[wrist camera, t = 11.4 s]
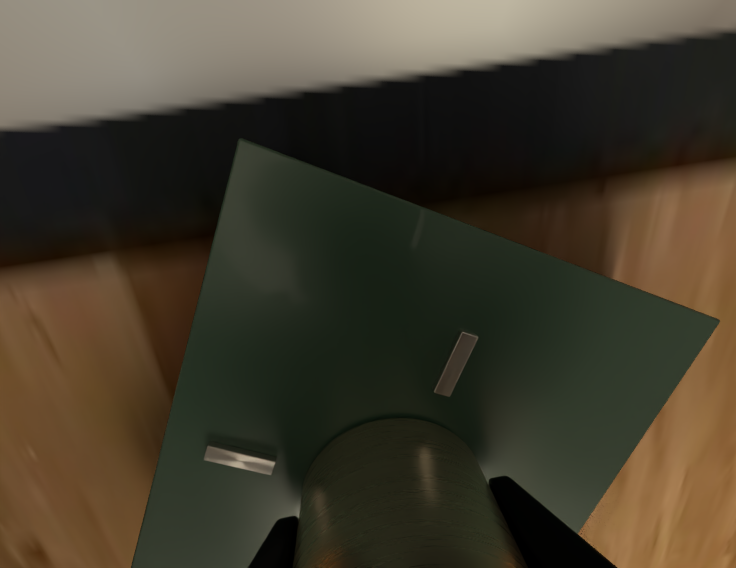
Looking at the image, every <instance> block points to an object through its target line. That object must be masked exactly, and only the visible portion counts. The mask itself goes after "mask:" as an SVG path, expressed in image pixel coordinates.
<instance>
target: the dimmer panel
mask: <svg viewBox="0 0 736 568" xmlns="http://www.w3.org/2000/svg"><path fill="white" fill-rule="evenodd" d="M719 322H720V321H719V320H718V319H717V318H714V317H711V316H709V315H706V314H703V313H701V312H698V311H695V310H693V309H690V308H688V307H685V306H682V305H680V304H677V303H674V302H672V301H669V300H667V299H664V298H661V297H659V296H656V295H653V294H651V293H648V292H645V291H643V290H640V289H638V288H635V287H632V286H630V285H627V284H624V283H622V282H619V281H617V280H614V279H611V278H609V277H606V276H603V275H601V274H598V273H595V272H593V271H590V270H588V269H585V268H582V267H580V266H577V265H574V264H572V263H569V262H567V261H564V260H561V259H559V258H556V257H553V256H551V255H548V254H545V253H543V252H540V251H538V250H535V249H532V248H530V247H527V246H524V245H522V244H519V243H516V242H514V241H511V240H509V239H506V238H503V237H501V236H498V235H495V234H493V233H490V232H488V231H485V230H482V229H480V228H477V227H474V226H472V225H469V224H466V223H464V222H461V221H459V220H456V219H453V218H451V217H448V216H445V215H443V214H440V213H438V212H435V211H432V210H430V209H427V208H424V207H422V206H419V205H416V204H414V203H411V202H409V201H406V200H403V199H401V198H398V197H395V196H393V195H390V194H388V193H385V192H382V191H380V190H377V189H374V188H372V187H369V186H366V185H364V184H361V183H359V182H356V181H353V180H351V179H348V178H345V177H343V176H340V175H337V174H335V173H332V172H330V171H327V170H324V169H322V168H319V167H316V166H314V165H311V164H309V163H306V162H303V161H301V160H298V159H295V158H293V157H290V156H287V155H285V154H282V153H280V152H277V151H274V150H272V149H269V148H266V147H264V146H261V145H259V144H256V143H253V142H251V141H248V140H245V139H243V138H240V139H239V140H238V143H237V147H236V151H235V155H234V159H233V163H232V167H231V171H230V175H229V179H228V183H227V187H226V191H225V195H224V199H223V203H222V207H221V211H220V215H219V219H218V223H217V227H216V231H215V235H214V239H213V243H212V247H211V251H210V255H209V259H208V263H207V267H206V271H205V275H204V278H203V282H202V286H201V290H200V294H199V298H198V302H197V306H196V310H195V314H194V318H193V322H192V326H191V330H190V334H189V338H188V342H187V346H186V350H185V354H184V358H183V362H182V366H181V370H180V374H179V378H178V382H177V386H176V390H175V394H174V398H173V402H172V406H171V410H170V414H169V418H168V422H167V426H166V430H165V434H164V438H163V442H162V446H161V450H160V454H159V458H158V462H157V466H156V470H155V474H154V478H153V482H152V486H151V490H150V494H149V498H148V502H147V506H146V510H145V514H144V518H143V522H142V526H141V530H140V534H139V538H138V542H137V546H136V550H135V554H134V558H133V562H132V566H131V568H248V567H249V565H250V563H251V562H252V560H253V558H254V557H255V555H256V553H257V552H258V550H259V549H260V547H261V545H262V544H263V542H264V540H265V539H266V537H267V535H268V534H269V532H270V530H271V529H272V527H273V525H274V524H275V522H276V521H277V520H278V519H280V518H284V517H289V516H297V517H298V519H299V513H300V505H301V497H302V489H303V483H304V480H305V476H306V474H307V472H308V470H309V468H310V466H311V464H312V463H313V461H314V460H315V458H316V457H317V455H318V454H319V453H320V452H321V451H322V450H323V448H324V447H325V446H327V445H328V444H329V443H330V442H331V441H332V440H334V439H335V438H337V437H338V436H339V435H341V434H342V433H344V432H346V431H348V430H350V429H352V428H354V427H356V426H359V425H362V424H364V423H368V422H371V421H375V420H380V419H387V418H413V419H419V420H424V421H428V422H431V423H434V424H437V425H439V426H441V427H443V428H445V429H447V430H449V431H450V432H452V433H453V434H455V435H456V436H458V437H459V438H460V439H461V440H462V441H463V442H464V443H465V444H466V445H467V446H468V447H469V448H470V450H471V451H472V453H473V454H474V456H475V458H476V460H477V462H478V464H479V466H480V468H481V470H482V472H483V474H484V476H485V478H486V480H487V483H488V482H489V479H490V478H494V477H499V476H508V477H510V478H511V479H513V480H514V481H515V482H516V483H517V484H519V485H520V486H521V487H522V488H523V489H524V490H526V491H527V492H528V493H529V494H530V495H532V496H533V497H534V498H535V499H536V500H538V501H539V502H540V503H541V504H542V505H543V506H545V507H546V508H547V509H548V510H549V511H551V512H552V513H553V514H554V515H555V516H557V517H558V518H559V519H560V520H561V521H562V522H564V523H565V524H566V525H567V526H568V527H570V528H571V529H572V530H573V531H574V532H575V533H577V534H578V533H579V531H580V530H581V528H582V527H583V525H584V524H585V522H586V521H587V519H588V518H589V516H590V515H591V513H592V512H593V510H594V509H595V507H596V506H597V504H598V503H599V501H600V500H601V498H602V497H603V495H604V494H605V492H606V491H607V489H608V488H609V486H610V485H611V483H612V482H613V480H614V479H615V477H616V476H617V474H618V473H619V471H620V470H621V468H622V467H623V465H624V464H625V462H626V461H627V460H628V458H629V457H630V455H631V454H632V452H633V451H634V449H635V448H636V446H637V445H638V443H639V442H640V440H641V439H642V437H643V436H644V434H645V433H646V431H647V430H648V428H649V427H650V425H651V424H652V422H653V421H654V419H655V418H656V416H657V415H658V413H659V412H660V410H661V409H662V407H663V406H664V404H665V403H666V401H667V400H668V398H669V397H670V395H671V394H672V392H673V391H674V389H675V388H676V386H677V385H678V384H679V382H680V381H681V379H682V378H683V376H684V375H685V373H686V372H687V370H688V369H689V367H690V366H691V364H692V363H693V361H694V360H695V358H696V357H697V355H698V354H699V352H700V351H701V349H702V348H703V346H704V345H705V343H706V342H707V340H708V339H709V337H710V336H711V334H712V333H713V331H714V330H715V328H716V327H717V325H718V324H719Z"/></svg>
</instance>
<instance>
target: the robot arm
mask: <svg viewBox="0 0 736 568" xmlns="http://www.w3.org/2000/svg"><path fill="white" fill-rule="evenodd" d="M488 485H489V487H490V489H491V491H492V493H493V495H494V497H495V499H496V501H497V504H498V506H499V508H500V510H501V512H502V514H503V516H504V518H505V520H506V522H507V524H508V527H509V529H510V531H511V533H512V535H513V537H514V539H515V541H516V543H517V545H518V547H519V550H520V552H521V554H522V556H523V558H524V560H525V562H526V564H527V566H528V568H617V567H616V566H615V565H613V564H612V563H611V562H610V561H609V560H608V559H606V558H605V557H604V556H603V555H602V554H600V553H599V552H598V551H597V550H596V549H594V548H593V547H592V546H591V545H590V544H589V543H587V542H586V541H585V540H584V539H583V538H581V537H580V536H579V535H578V534H577V533H575V532H574V531H573V530H572V529H571V528H570V527H568V526H567V525H566V524H565V523H564V522H562V521H561V520H560V519H559V518H558V517H557V516H555V515H554V514H553V513H552V512H551V511H549V510H548V509H547V508H546V507H545V506H543V505H542V504H541V503H540V502H539V501H538V500H536V499H535V498H534V497H533V496H532V495H530V494H529V493H528V492H527V491H526V490H524V489H523V488H522V487H521V486H520V485H519V484H517V483H516V482H515V481H514V480H513V479H511V478H510V477H508V476H499V477H494V478H490V479H489V482H488ZM298 521H299V519H298V517H297V516H289V517H284V518H280V519H278V520H277V521H276V522H275V524H274V525H273V527H272V529H271V530H270V532H269V534H268V535H267V537H266V539H265V540H264V542H263V544H262V545H261V547H260V549H259V550H258V552H257V553H256V555H255V557H254V558H253V560H252V562H251V563H250V565H249V567H248V568H293V560H294V552H295V544H296V536H297V529H298Z"/></svg>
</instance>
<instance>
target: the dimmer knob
mask: <svg viewBox="0 0 736 568" xmlns="http://www.w3.org/2000/svg"><path fill="white" fill-rule="evenodd" d="M293 568H528V566H527V564H526V562H525V560H524V558H523V556H522V554H521V552H520V550H519V547H518V545H517V543H516V541H515V539H514V537H513V535H512V533H511V531H510V529H509V527H508V524H507V522H506V520H505V518H504V516H503V514H502V512H501V510H500V508H499V506H498V504H497V501H496V499H495V497H494V495H493V493H492V491H491V489H490V487H489V485H488V483H487V480H486V478H485V476H484V474H483V472H482V470H481V468H480V466H479V464H478V462H477V460H476V458H475V456H474V454H473V453H472V451H471V450H470V448H469V447H468V446H467V445H466V444H465V443H464V442H463V441H462V440H461V439H460V438H459V437H458V436H456V435H455V434H453V433H452V432H450V431H449V430H447V429H445V428H443V427H441V426H439V425H437V424H434V423H431V422H428V421H424V420H419V419H413V418H387V419H380V420H375V421H371V422H368V423H364V424H362V425H359V426H356V427H354V428H352V429H350V430H348V431H346V432H344V433H342V434H341V435H339V436H338V437H337V438H335V439H334V440H332V441H331V442H330V443H329V444H328V445H327V446H325V447H324V448H323V450H322V451H321V452H320V453H319V454H318V455H317V457H316V458H315V460H314V461H313V463H312V464H311V466H310V468H309V470H308V472H307V474H306V476H305V480H304V483H303V489H302V497H301V505H300V513H299V521H298V529H297V536H296V544H295V552H294V560H293Z"/></svg>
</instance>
